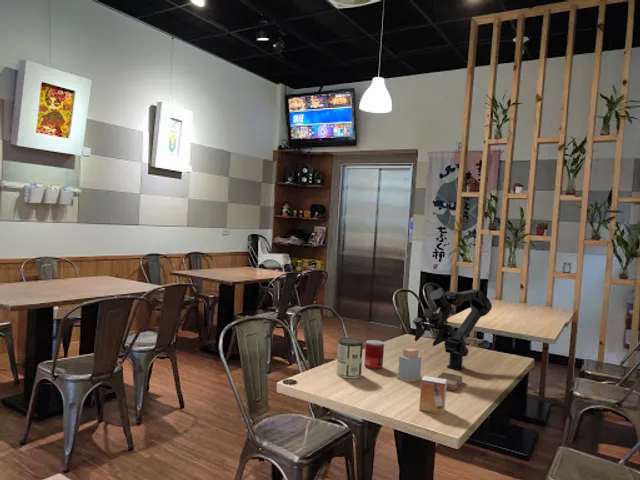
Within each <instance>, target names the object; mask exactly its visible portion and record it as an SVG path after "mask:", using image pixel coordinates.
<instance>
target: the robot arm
mask: <svg viewBox="0 0 640 480" xmlns="http://www.w3.org/2000/svg"><path fill="white" fill-rule="evenodd" d="M429 298H430V299H431V301H432V303H433V304H434V307H436V308H437V309H436V310H433V309H428V308H425V310H424V312H423V315H422V316H423V317H424V318H426V321H427V322H426V321H425V319H424V318H421V317H415V318H414V319H413V321H412V322H413V324H414V326H415V327H416V328H415V329H416V330H415V335H414V341H415V342H417V341H418V340H420V338H421V337H422V336H423V335H424V334H425V333H426V332H425V331H427V330H428V329H430V330H433V331H437V332H438V334H437V335H436V337H435V338H434V341H433V343H432V347H435V346H437V345H439V344H441V343H442V342H444V343H443V344H444V351H445V353H449V361H448V364H447V366H446V368H448V369H452V370H458V371H462V370H463V368H464V369H465V365H463V362H464V361H463V360H464V359H463V358H464V357H467V356H468V355H469V349H468V347H467V340H466V339H467V338H468V336H469V335H470V333H471V332H472V331H473V329H474V328H475V326H476V324H477V323H478V322H479V320H480V319H481V318H483V317H485V316H487V315H488V314H489V313H490V312H491V310H492V307H493V305H492V302H491V301H490V299H489V297H488V296H486V295H484V293H483V291H482V290H479V289H470V290H465V291H459V292H456V291H449V290H447V291H445V290H444V288H442V287H438V289H435V290H433V291H431V293H430V294H429ZM467 301H469V303H470V312H469V313H468V315H467V316H466V318H465V319H464V321H463V322H462V323H461V324H460V326H459V328H458V329H457V330H456V331H455V330H454V327H453V326H452V325H451V324H448V319H449V318H450V316H451V315H455V313H456V312H455V308H454V307H453V306H456V307H459V306H461V305H463V304H464V302H467Z"/></svg>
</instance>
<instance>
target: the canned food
mask: <svg viewBox="0 0 640 480" xmlns="http://www.w3.org/2000/svg"><path fill="white" fill-rule="evenodd" d="M384 349H385V342H383V341H381V340H378V339H368V340H366V341H365V349H364V367H365V368H367V369H369V370H381V369H382V368H383V366H384V364H383V363H384V352H385V350H384Z"/></svg>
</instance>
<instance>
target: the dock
mask: <svg viewBox="0 0 640 480" xmlns="http://www.w3.org/2000/svg"><path fill="white" fill-rule="evenodd" d="M436 378H440V379H447V387H446V391H449V392H455V391H456V390H457V389H458V388H459V386H460V385H461V384H462V383H463V375H459V374H455V373H454V374H453V373H449V372H444V371H441V373H440V374H439V375H438V376H437V377H436Z"/></svg>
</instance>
